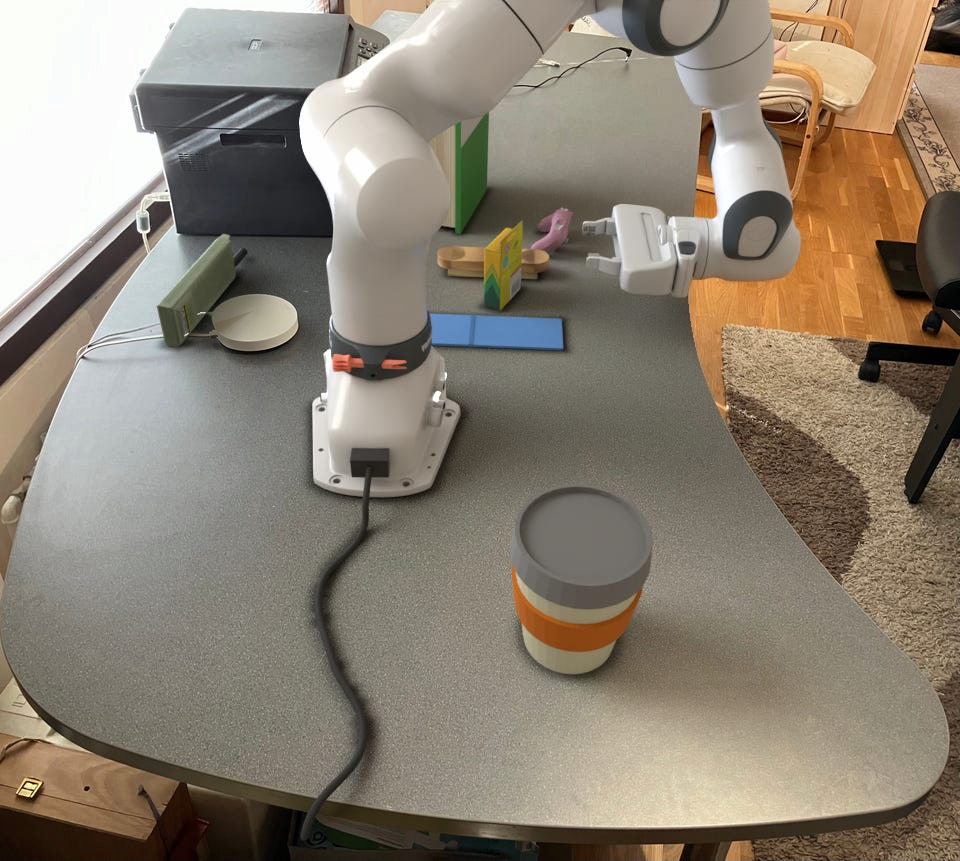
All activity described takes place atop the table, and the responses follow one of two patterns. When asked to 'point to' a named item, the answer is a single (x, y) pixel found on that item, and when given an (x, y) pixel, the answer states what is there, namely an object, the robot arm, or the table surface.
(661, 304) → the table surface
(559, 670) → the reusable coffee cup
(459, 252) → the scrub brush
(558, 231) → the video game controller
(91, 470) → the table surface
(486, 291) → the crayon box
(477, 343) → the blue cloth
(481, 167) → the hardback book
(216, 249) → the handheld radio
